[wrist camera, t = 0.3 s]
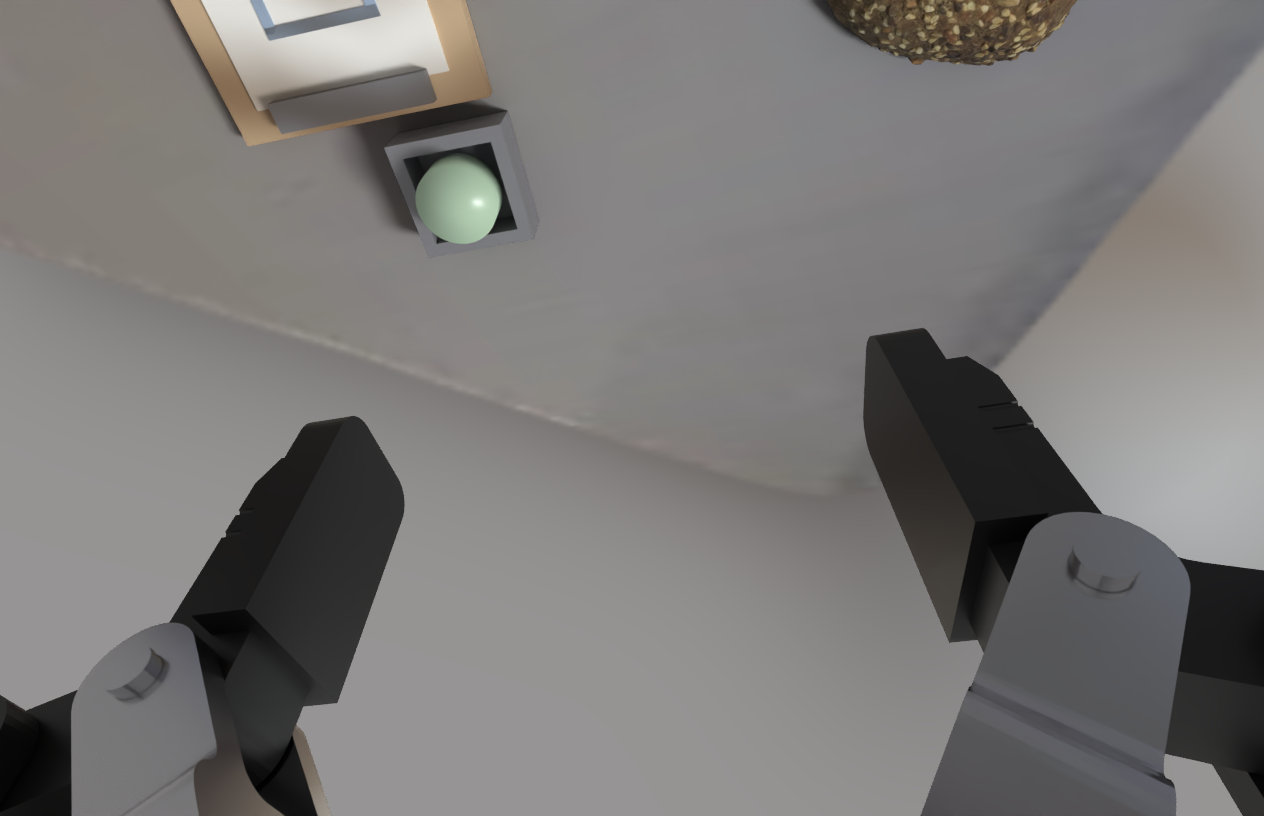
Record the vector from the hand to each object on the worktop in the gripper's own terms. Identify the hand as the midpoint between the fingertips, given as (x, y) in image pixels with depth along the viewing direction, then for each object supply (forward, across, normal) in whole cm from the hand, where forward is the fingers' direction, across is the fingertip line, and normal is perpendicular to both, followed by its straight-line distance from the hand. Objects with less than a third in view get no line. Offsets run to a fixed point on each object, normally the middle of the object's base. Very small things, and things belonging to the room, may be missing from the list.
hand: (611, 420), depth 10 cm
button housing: (+28, +9, +4) cm, 30 cm away
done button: (+26, +9, +4) cm, 28 cm away
